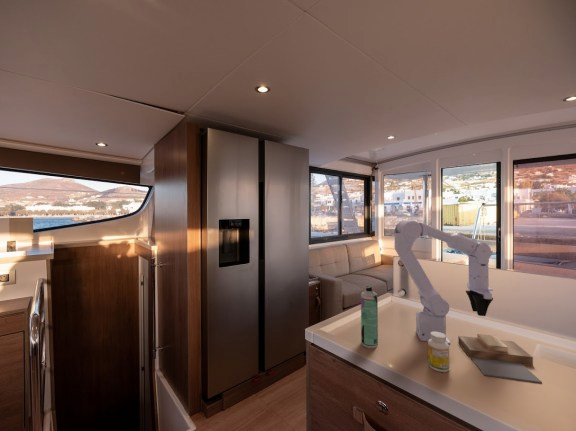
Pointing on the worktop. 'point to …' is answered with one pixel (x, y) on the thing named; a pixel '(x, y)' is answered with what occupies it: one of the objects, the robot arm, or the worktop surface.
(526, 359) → the walnut deck
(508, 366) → the rubber mat
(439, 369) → the supplement bottle
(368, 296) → the spray can
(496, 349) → the birch tile
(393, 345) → the worktop surface
